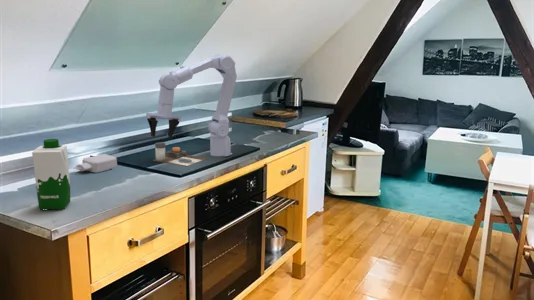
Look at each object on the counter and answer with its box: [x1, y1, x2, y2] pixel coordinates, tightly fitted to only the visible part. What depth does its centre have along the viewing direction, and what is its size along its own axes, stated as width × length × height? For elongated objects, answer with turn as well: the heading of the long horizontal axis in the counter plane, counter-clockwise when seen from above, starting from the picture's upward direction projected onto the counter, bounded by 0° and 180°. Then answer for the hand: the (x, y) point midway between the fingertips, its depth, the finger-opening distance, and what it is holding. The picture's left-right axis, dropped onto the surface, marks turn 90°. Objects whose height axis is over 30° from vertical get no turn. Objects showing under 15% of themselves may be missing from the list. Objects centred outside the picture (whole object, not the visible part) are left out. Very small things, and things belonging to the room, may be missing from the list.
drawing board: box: [152, 149, 209, 167], centre depth 186 cm, size 15×18×3 cm
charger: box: [73, 153, 118, 174], centre depth 170 cm, size 5×9×15 cm
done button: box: [172, 146, 181, 153], centre depth 191 cm, size 3×3×2 cm
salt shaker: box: [154, 141, 167, 162], centre depth 184 cm, size 4×4×7 cm
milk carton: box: [31, 138, 71, 211], centre depth 131 cm, size 9×9×20 cm
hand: (161, 136), depth 181 cm, fingers open, 7 cm apart
